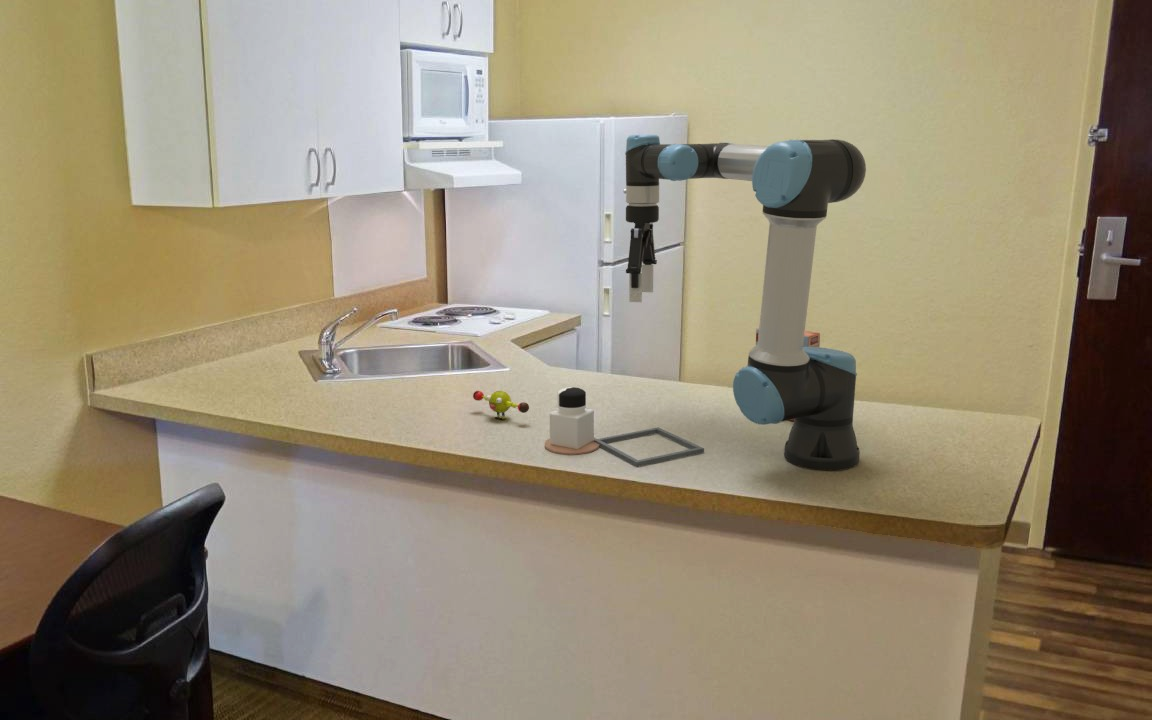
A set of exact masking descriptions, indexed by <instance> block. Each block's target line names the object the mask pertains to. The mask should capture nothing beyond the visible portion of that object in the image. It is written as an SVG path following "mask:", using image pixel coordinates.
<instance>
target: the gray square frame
mask: <svg viewBox="0 0 1152 720" xmlns="http://www.w3.org/2000/svg"><path fill="white" fill-rule="evenodd" d="M655 434H658V435H660V436H661V437H664V438H666V439H668V440H669V441H673V442H675V443H677V444H678V445H681V446H683V447H685V448H688V449H684V450H681V451H680V450H679V451H674V452H671V453H665V454H661V455H657V456H652V457H651V456H650V457H646V458H642V459H637V458H636V457H633V456H631V455H629V454H627V453H625V452H623V451H622V450H620V449H618V448H616V447H613V446H612V445H610V444H609V443H615V442H619V441H624V440H630V439H635V438H640V437H645V436H651V435H655ZM594 442H596V443H598V444H600V447H599V449H600V448H601V449H602V450H604V451H606V452H608V453H610V454H611V455H614V456H615V457H617V458H619V459H621V460H623V461H625V462H626V463H628V464H630V465H632V466H633V467H636V468H639V467H644V466H647V465H652V464H657V463H662V462H668V461H670V460H675V459H676V460H677V459H681V458H682V459H683V458H686V457H691V456H695V455H700V454H704V453H705V448H704V447H702V446H700V445H698V444H696V443H694V442H691V441H689V440H687V439H685V438H682V437H680V436H678V435H675V434H674V433H671V432H669V431H668V430H665V429H663V428H661V427H654V428H647V429H643V430H642V429H641V430H637V431H632V432H627V433H621V434H616V435H612V436H605V437H600V438H596V439H594Z"/></svg>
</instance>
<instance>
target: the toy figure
mask: <svg viewBox="0 0 1152 720" xmlns="http://www.w3.org/2000/svg"><path fill="white" fill-rule="evenodd" d="M472 397H473V399H474V400H475V401H482V400H483V399H484V400H485V401H487V402H488V405H489V408H490V409H491V410H492V411H493V412H494V413H496V416H494V419H496V420H497V419H499V420H501V421H502V420H503V421H504V420H505V419H506V416H505V415H506V414H505V413H506V412H507V411H508V410H509V409H510V408H512V409H513V408H514V409H515V408H517V409H518V411H519V412H521V413H524V414H526V413H527V412H528V411H529V409H530V405H529V404H528V403H527V402H524V401H523V402H520V403H519V404H517V403H516V402H512V399H511V396H510V395H509V394H508V393H507V392H506V391H503V390H497V391H494V392H493V393H492V394H488V395H486V396H484V393H483V392H482V391H481V390H476V391H474V392H473V394H472ZM500 414H501V416H500Z"/></svg>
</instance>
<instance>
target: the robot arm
mask: <svg viewBox="0 0 1152 720" xmlns="http://www.w3.org/2000/svg"><path fill="white" fill-rule="evenodd" d="M625 148H626V149H625V152H624V154H625V188H626V189H623V194H626V195H625V202H626V204H628V205H626V207H625V221H626V222H627V223H631V224H632V223H633V224H634V228H633V227H632V228H631V229H630V241H629V250H628V259H627V260H628V262H627V269H625V274H629V279H628V280H629V289H628V290H629V292H628V293H629V297H628V298H629V299H628V300H629V301H628V302H629V303H642V301H643V295H642V294H643V293H654V265H657V263H658V260H657V259H656V252H655V251H656V250H655V241H654V224H653V223H658V221H659V220H660V215H659V213H660V212H659V211H660V209H659V208H660V207H659V205H658V203H660V180H670V181H673V182H675V181H678V182H679V181H680V182H682V181H685V180H686V181H687V180H693V179H694V180H695V179H723V180H736V181H737V180H738V181H745V182H746V181H747V182H751V184H752V190H753V192H755V195H754V196H755V198H756V200H757V201H758V202H759V203H760V204H761V205H762V215H764V216H765V218H766V219H767V221H768V222H769V227H768V235H767V247H766V257H765V265H764V266H765V267H764V275H763V286H762V288H763V289H762V296H761V297H762V298H761V306H760V307H761V308H760V317H759V327H758V328H759V335H758V344H757V345H756V344H755V346H754V347H752V348H751V349H750V350H749V351H748V358H747V366H743V367H741V369H739V370H738V372H736V373H735V375H734V378H733V382H732V391H733V397H734V400H735V402H736V404H737V406H738V408H739V410H740V412H741V413H742V415H743V416H744V417H745V418H746V419H747V420H749V421H750V422H752V423H753V424H756V425H761V426H762V425H763V426H764V425H771V424H776V425H777V424H779V423H782V422H785V421H791V419H794V421H793V424H792V426H791V428H790V432H789V435H788V439H787V441H785V444H784V447H783V448H784V449H783V451H784V452H783V455H784V456H783V458H784V459H785V460H786V461H787V462H789V463H791V464H792V465H795V466H796V467H797V466H798V467H801V468H804V469H809V470H816V471H842V470H848V469H852V468H854V467H856V466H857V465H858V464H859V463H860V454H861V453H860V452H861V451H860V447H859V446H858V442H857V438H856V432H855V430H854V424H853V423H854V422H853V421H854V409H855V395H856V381H857V380H856V379H857V376H858V375H857V374H858V373H857V361H856V359H855V357H854V355H853V354H851V353H848V352H846V351H842V350H838V349H833V348H826V347H820V346H819V347H803V341H804V333H805V331H806V325H807V324H806V323H807V314H808V306H809V305H808V304H809V297H810V288H811V287H810V286H811V280H812V279H811V278H812V272H813V271H812V270H813V263H814V253H815V246H816V236H817V228H818V225H820V223H821V222H823V221H825V219H827V215H828V206H829V204H832V203H833V204H834V203H839V202H842V201H846V200H848V199H850V198H851V197H853V195H855V194H856V193H857V192H858V191H859V190H860V188H861V187H862V186H863V183H864V181H865V178H866V173H867V166H866V161H865V158H864V156H863V153H862V152H861V150H859V148H858V147H857V146H856V145H854V144H852V143H851V142H848V141H846V140H842V139H798V138H797V139H789V140H782V141H777V142H773V143H772V144H771V145H758V144H757V145H755V144H738V143H737V144H736V143H730V142H719V143H717V142H716V143H671V144H670V143H669V144H668V143H666V144H664V143H663V144H661V141H660V136H659V135H657V134H631V135H629V136H628V137H627V138H626V146H625Z"/></svg>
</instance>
